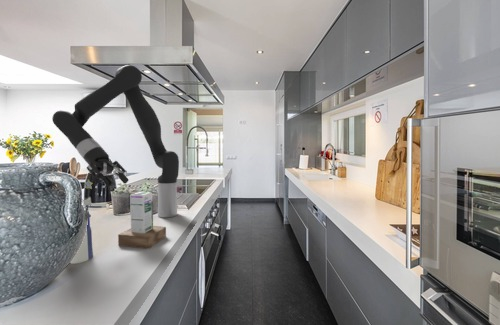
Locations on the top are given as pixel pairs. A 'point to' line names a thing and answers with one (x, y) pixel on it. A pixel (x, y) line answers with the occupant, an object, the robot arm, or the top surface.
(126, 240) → the walnut block
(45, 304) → the top surface
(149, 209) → the syrup box
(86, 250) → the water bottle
